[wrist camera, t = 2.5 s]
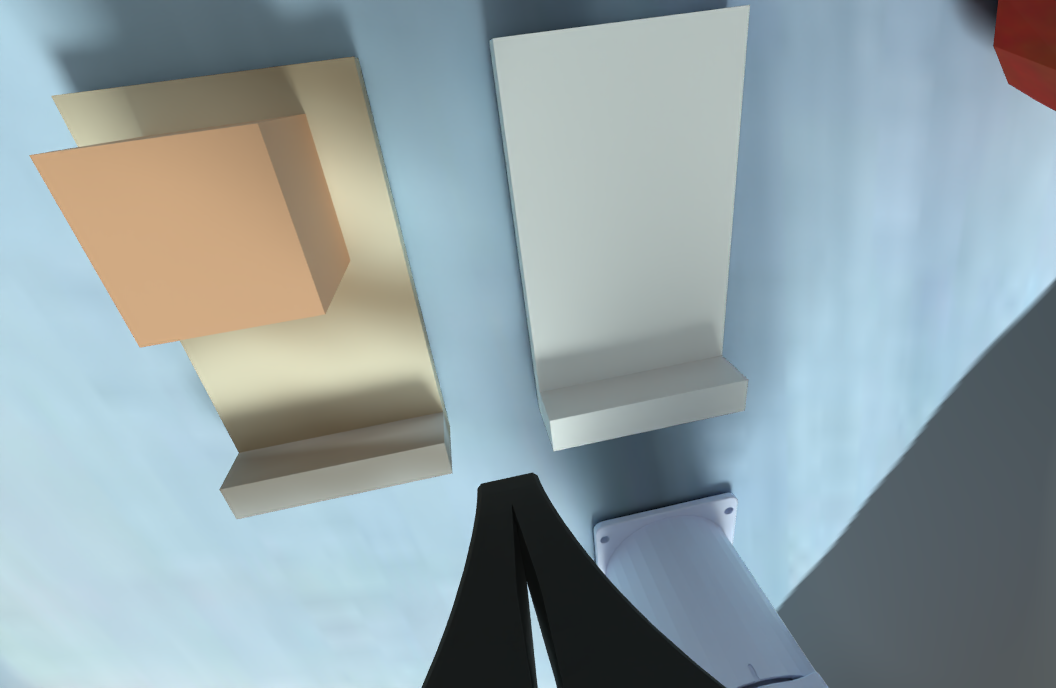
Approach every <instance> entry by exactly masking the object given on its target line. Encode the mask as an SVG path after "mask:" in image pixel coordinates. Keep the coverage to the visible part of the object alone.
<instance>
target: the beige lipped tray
mask: <svg viewBox="0 0 1056 688" xmlns="http://www.w3.org/2000/svg"><path fill="white" fill-rule="evenodd" d="M52 98H53V100H54V102H55V104H56V106H57V108H58V110H59V112H60V114H61V115H62V117H63V119H64V121H65V123H66V125H67V127H68V129H69V131H70V133H71V135H72V136H73V138H74V140H75V142H76V144H77V146H78V147H82V146H88V145H94V144H100V143H106V142H112V141H118V140H124V139H130V138H136V137H142V136H149V135H157V134H164V133H171V132H178V131H185V130H192V129H199V128H207V127H214V126H221V125H228V124H235V123H242V122H250V121H257V120H264V119H271V118H278V117H285V116H292V115H300V114H306V117H307V121H308V124H309V127H310V130H311V134H312V137H313V140H314V143H315V147H316V150H317V153H318V156H319V159H320V163H321V166H322V169H323V172H324V176H325V179H326V182H327V185H328V189H329V192H330V195H331V198H332V202H333V205H334V208H335V211H336V215H337V218H338V221H339V224H340V228H341V231H342V234H343V237H344V241H345V244H346V247H347V250H348V254H349V257H350V260H351V261H350V263H349V265H348V267H347V269H346V271H345V273H344V276H343V278H342V280H341V282H340V284H339V286H338V288H337V290H336V293H335V295H334V297H333V299H332V301H331V303H330V305H329V308H328V310H327V312H326V314H325V315H319V316H314V317H308V318H302V319H297V320H291V321H286V322H280V323H274V324H269V325H263V326H258V327H252V328H246V329H241V330H235V331H230V332H224V333H218V334H213V335H207V336H202V337H196V338H190V339H185V340H180V342H181V344H182V346H183V347H184V349H185V351H186V353H187V355H188V357H189V359H190V361H191V363H192V365H193V366H194V368H195V370H196V372H197V374H198V376H199V378H200V380H201V382H202V384H203V385H204V387H205V389H206V391H207V393H208V395H209V397H210V399H211V401H212V403H213V404H214V406H215V408H216V410H217V412H218V414H219V416H220V418H221V420H222V422H223V424H224V425H225V427H226V429H227V431H228V433H229V435H230V437H231V439H232V441H233V443H234V444H235V446H236V448H237V450H238V452H239V454H238V456H237V458H236V459H235V461H234V463H233V465H232V467H231V469H230V471H229V473H228V475H227V477H226V478H225V480H224V482H223V484H222V486H221V488H220V491H221V493H222V495H223V496H224V498H225V500H226V502H227V503H228V505H229V507H230V509H231V510H232V512H233V514H234V515H235V517H236V519H241V518H245V517H250V516H255V515H259V514H264V513H269V512H273V511H278V510H283V509H287V508H292V507H297V506H301V505H306V504H311V503H315V502H320V501H325V500H329V499H334V498H339V497H343V496H348V495H353V494H357V493H362V492H367V491H371V490H376V489H381V488H385V487H390V486H395V485H399V484H404V483H409V482H413V481H418V480H423V479H427V478H432V477H437V476H441V475H446V474H451V473H452V459H451V440H450V425H449V421H448V417H447V413H446V409H445V405H444V401H443V397H442V393H441V389H440V385H439V381H438V377H437V373H436V369H435V365H434V361H433V357H432V353H431V349H430V345H429V341H428V337H427V333H426V329H425V325H424V321H423V317H422V313H421V309H420V305H419V301H418V297H417V293H416V289H415V285H414V281H413V277H412V273H411V269H410V265H409V260H408V256H407V252H406V248H405V244H404V240H403V236H402V232H401V228H400V224H399V220H398V216H397V212H396V208H395V204H394V200H393V196H392V192H391V188H390V184H389V180H388V176H387V172H386V168H385V164H384V160H383V156H382V152H381V148H380V144H379V140H378V136H377V132H376V128H375V124H374V120H373V116H372V112H371V108H370V104H369V100H368V96H367V92H366V88H365V84H364V80H363V76H362V72H361V68H360V64H359V60H358V58H356V57H346V58H338V59H331V60H323V61H315V62H308V63H300V64H292V65H285V66H277V67H269V68H262V69H254V70H246V71H239V72H231V73H223V74H216V75H208V76H200V77H193V78H185V79H177V80H169V81H162V82H154V83H146V84H139V85H131V86H123V87H116V88H108V89H100V90H93V91H85V92H77V93H70V94H62V95H54V96H52Z"/></svg>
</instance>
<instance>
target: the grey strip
mask: <svg viewBox="0 0 1056 688" xmlns="http://www.w3.org/2000/svg"><path fill="white" fill-rule="evenodd" d="M749 9H750V5H745V6H738V7H730V8H722V9H715V10H707V11H699V12H692V13H684V14H676V15H669V16H661V17H653V18H646V19H638V20H630V21H622V22H615V23H607V24H599V25H592V26H584V27H576V28H569V29H561V30H553V31H546V32H538V33H530V34H523V35H515V36H507V37H500V38H493V39H491V40H490V41H489V44H490V51H491V58H492V66H493V73H494V80H495V88H496V95H497V103H498V110H499V117H500V125H501V132H502V139H503V147H504V154H505V161H506V169H507V176H508V184H509V191H510V198H511V206H512V213H513V220H514V228H515V235H516V242H517V250H518V257H519V265H520V272H521V279H522V287H523V294H524V301H525V309H526V316H527V323H528V331H529V338H530V346H531V353H532V360H533V368H534V375H535V382H536V390H537V397H538V404H539V409H540V412H541V415H542V418H543V421H544V424H545V427H546V430H547V433H548V436H549V439H550V442H551V445H552V448H553V451H558V450H563V449H568V448H572V447H577V446H582V445H586V444H591V443H596V442H600V441H605V440H610V439H614V438H619V437H624V436H628V435H633V434H638V433H642V432H647V431H652V430H656V429H661V428H666V427H670V426H675V425H680V424H684V423H689V422H694V421H698V420H703V419H708V418H712V417H717V416H722V415H726V414H731V413H736V412H740V411H745V405H746V396H747V387H748V379H747V378H746V377H745V376H744V375H743V374H741V373H740V372H739V371H738V370H737V369H736V368H735V367H734V366H733V365H732V364H731V363H730V362H728V361H727V360H726V359H725V358H724V357H723V356H722V348H723V336H724V323H725V311H726V298H727V285H728V273H729V260H730V248H731V235H732V223H733V210H734V198H735V185H736V173H737V160H738V147H739V135H740V122H741V110H742V97H743V85H744V72H745V60H746V47H747V34H748V22H749Z"/></svg>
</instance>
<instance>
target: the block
mask: <svg viewBox="0 0 1056 688" xmlns="http://www.w3.org/2000/svg"><path fill="white" fill-rule="evenodd" d="M29 156H30V157H31V159H32V161H33V163H34V164H35V166H36V168H37V170H38V171H39V173H40V175H41V177H42V178H43V180H44V182H45V183H46V185H47V187H48V189H49V190H50V192H51V194H52V196H53V197H54V199H55V201H56V203H57V204H58V206H59V208H60V210H61V211H62V213H63V215H64V217H65V218H66V220H67V222H68V223H69V225H70V227H71V229H72V230H73V232H74V234H75V236H76V237H77V239H78V241H79V243H80V244H81V246H82V248H83V250H84V251H85V253H86V255H87V257H88V258H89V260H90V262H91V263H92V265H93V267H94V269H95V270H96V272H97V274H98V276H99V277H100V279H101V281H102V283H103V284H104V286H105V288H106V290H107V291H108V293H109V295H110V297H111V298H112V300H113V302H114V303H115V305H116V307H117V309H118V310H119V312H120V314H121V316H122V317H123V319H124V321H125V323H126V324H127V326H128V328H129V330H130V331H131V333H132V335H133V337H134V338H135V340H136V342H137V343H138V345H139V347H146V346H151V345H157V344H162V343H168V342H174V341H179V340H185V339H190V338H196V337H202V336H207V335H213V334H218V333H224V332H230V331H235V330H241V329H246V328H252V327H258V326H263V325H269V324H274V323H280V322H286V321H291V320H297V319H302V318H308V317H314V316H319V315H325V314H326V312H327V310H328V308H329V305H330V303H331V301H332V299H333V297H334V295H335V293H336V290H337V288H338V286H339V284H340V282H341V280H342V278H343V276H344V273H345V271H346V269H347V267H348V265H349V263H350V261H351V260H350V257H349V254H348V250H347V247H346V244H345V241H344V237H343V234H342V231H341V228H340V224H339V221H338V218H337V215H336V211H335V208H334V205H333V202H332V198H331V195H330V192H329V189H328V185H327V182H326V179H325V176H324V172H323V169H322V166H321V163H320V159H319V156H318V153H317V150H316V147H315V143H314V140H313V137H312V134H311V130H310V127H309V124H308V121H307V117H306V114H300V115H292V116H285V117H278V118H271V119H264V120H257V121H250V122H242V123H235V124H228V125H221V126H214V127H207V128H199V129H192V130H185V131H178V132H171V133H164V134H157V135H149V136H142V137H136V138H130V139H124V140H118V141H112V142H106V143H100V144H94V145H88V146H82V147H76V148H70V149H64V150H58V151H52V152H46V153H40V154H34V155H29Z"/></svg>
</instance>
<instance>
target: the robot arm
mask: <svg viewBox="0 0 1056 688" xmlns="http://www.w3.org/2000/svg"><path fill="white" fill-rule="evenodd" d="M737 504H738V500H737V498H736V497H735V495H734V494H733V493H724V494H719V495H715V496H711V497H706V498H702V499H698V500H693V501H689V502H685V503H680V504H676V505H672V506H667V507H663V508H659V509H654V510H650V511H646V512H641V513H637V514H633V515H628V516H624V517H619V518H615V519H611V520H606V521H602V522H599V523H598V524H596V525H595V527H594V543H595V555H596V563H595V562H594V561H593V560H592V559H591V557H590V556H589V555H588V554H587V552H586V551H585V550H584V549H583V547H582V546H581V545H580V543H579V542H578V541H577V539H576V538H575V537H574V535H573V534H572V532H571V531H570V530H569V528H568V527H567V526H566V524H565V523H564V521H563V520H562V518H561V517H560V515H559V514H558V512H557V511H556V509H555V508H554V506H553V504H552V503H551V501H550V500H549V498H548V496H547V494H546V492H545V491H544V489H543V487H542V485H541V483H540V480H539V478H538V476H537V475H536V474H534V473H529V474H524V475H519V476H515V477H510V478H506V479H501V480H496V481H492V482H487V483H483V484H481V485H480V486H479V487H478V493H477V508H476V515H475V522H474V527H473V533H472V538H471V542H470V546H469V551H468V555H467V559H466V563H465V567H464V571H463V574H462V578H461V581H460V585H459V588H458V591H457V595H456V598H455V601H454V605H453V608H452V611H451V614H450V617H449V619H448V622H447V625H446V628H445V631H444V633H443V636H442V639H441V641H440V644H439V647H438V649H437V652H436V654H435V657H434V659H433V662H432V664H431V666H430V669H429V671H428V673H427V676H426V678H425V681H424V683H423V685H422V688H538V686H537V678H536V668H535V658H534V648H533V638H532V629H531V619H530V609H529V599H528V589H527V584H528V587H529V591H530V594H531V598H532V601H533V605H534V608H535V611H536V615H537V618H538V622H539V625H540V629H541V632H542V636H543V639H544V643H545V646H546V650H547V653H548V656H549V660H550V663H551V667H552V670H553V674H554V677H555V681H556V685H557V688H828V686H827V685H826V683H825V682H824V680H823V679H822V678H821V676H820V675H819V673H817V672H816V671H815V670H814V668H813V667H812V665H811V664H810V662H809V660H808V659H807V657H806V656H805V654H804V653H803V651H802V650H801V649H800V647H799V645H798V644H797V642H796V641H795V639H794V638H793V636H792V635H791V633H790V632H789V630H788V629H787V627H786V626H785V624H784V623H783V621H782V620H781V618H780V617H779V615H778V613H777V612H776V610H775V609H774V607H773V606H772V604H771V603H770V601H769V600H768V598H767V597H766V595H765V594H764V592H763V591H762V589H761V588H760V586H759V585H758V583H757V582H756V580H755V579H754V577H753V575H752V574H751V572H750V571H749V569H748V568H747V566H746V565H745V563H744V562H743V560H742V559H741V557H740V556H739V554H738V553H737V551H736V550H735V548H734V547H733V538H734V530H735V521H736V513H737Z"/></svg>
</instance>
